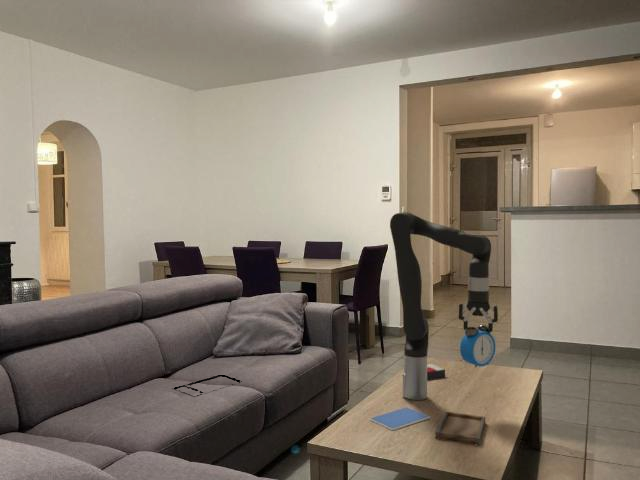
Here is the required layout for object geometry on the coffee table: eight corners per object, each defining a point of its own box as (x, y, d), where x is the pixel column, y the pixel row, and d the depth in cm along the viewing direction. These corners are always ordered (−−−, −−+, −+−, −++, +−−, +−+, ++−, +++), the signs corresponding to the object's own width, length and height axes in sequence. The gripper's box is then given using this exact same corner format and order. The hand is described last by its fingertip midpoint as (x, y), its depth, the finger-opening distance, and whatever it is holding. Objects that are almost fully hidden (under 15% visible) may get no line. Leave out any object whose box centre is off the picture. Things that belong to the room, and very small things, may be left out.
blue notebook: (392, 432, 183) (392, 429, 183) (368, 421, 193) (368, 417, 193) (431, 420, 194) (431, 416, 194) (406, 409, 204) (406, 406, 204)
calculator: (404, 367, 248) (431, 362, 254) (404, 376, 248) (431, 371, 254) (417, 373, 238) (445, 368, 244) (418, 383, 238) (445, 377, 244)
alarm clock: (471, 369, 195) (471, 329, 195) (458, 365, 201) (459, 326, 200) (495, 364, 202) (496, 325, 201) (483, 360, 207) (483, 322, 207)
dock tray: (435, 438, 177) (435, 431, 176) (445, 417, 195) (445, 411, 195) (479, 445, 171) (479, 438, 171) (485, 423, 190) (485, 416, 190)
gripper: (499, 288, 201) (498, 331, 202) (460, 286, 206) (459, 328, 207) (497, 291, 194) (497, 335, 195) (457, 289, 199) (457, 332, 200)
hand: (477, 331), depth 201 cm, fingers closed on alarm clock, 8 cm apart
